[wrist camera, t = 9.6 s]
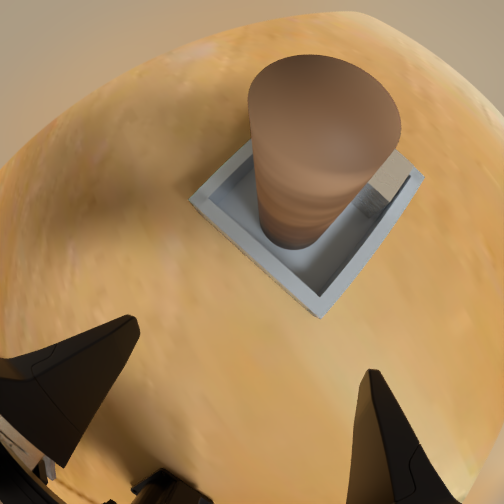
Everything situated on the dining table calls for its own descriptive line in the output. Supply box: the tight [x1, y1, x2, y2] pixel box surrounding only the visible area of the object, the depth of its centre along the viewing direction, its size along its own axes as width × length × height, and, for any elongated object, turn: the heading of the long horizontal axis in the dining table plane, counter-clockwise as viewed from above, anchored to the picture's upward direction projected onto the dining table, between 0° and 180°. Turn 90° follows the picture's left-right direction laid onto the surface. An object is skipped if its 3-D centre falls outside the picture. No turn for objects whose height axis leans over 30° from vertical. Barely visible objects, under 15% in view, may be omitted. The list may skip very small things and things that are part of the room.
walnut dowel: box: [248, 55, 401, 250], centre depth 14 cm, size 5×5×13 cm
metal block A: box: [351, 149, 414, 219], centre depth 18 cm, size 4×4×4 cm
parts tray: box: [188, 139, 425, 319], centre depth 20 cm, size 14×12×3 cm
